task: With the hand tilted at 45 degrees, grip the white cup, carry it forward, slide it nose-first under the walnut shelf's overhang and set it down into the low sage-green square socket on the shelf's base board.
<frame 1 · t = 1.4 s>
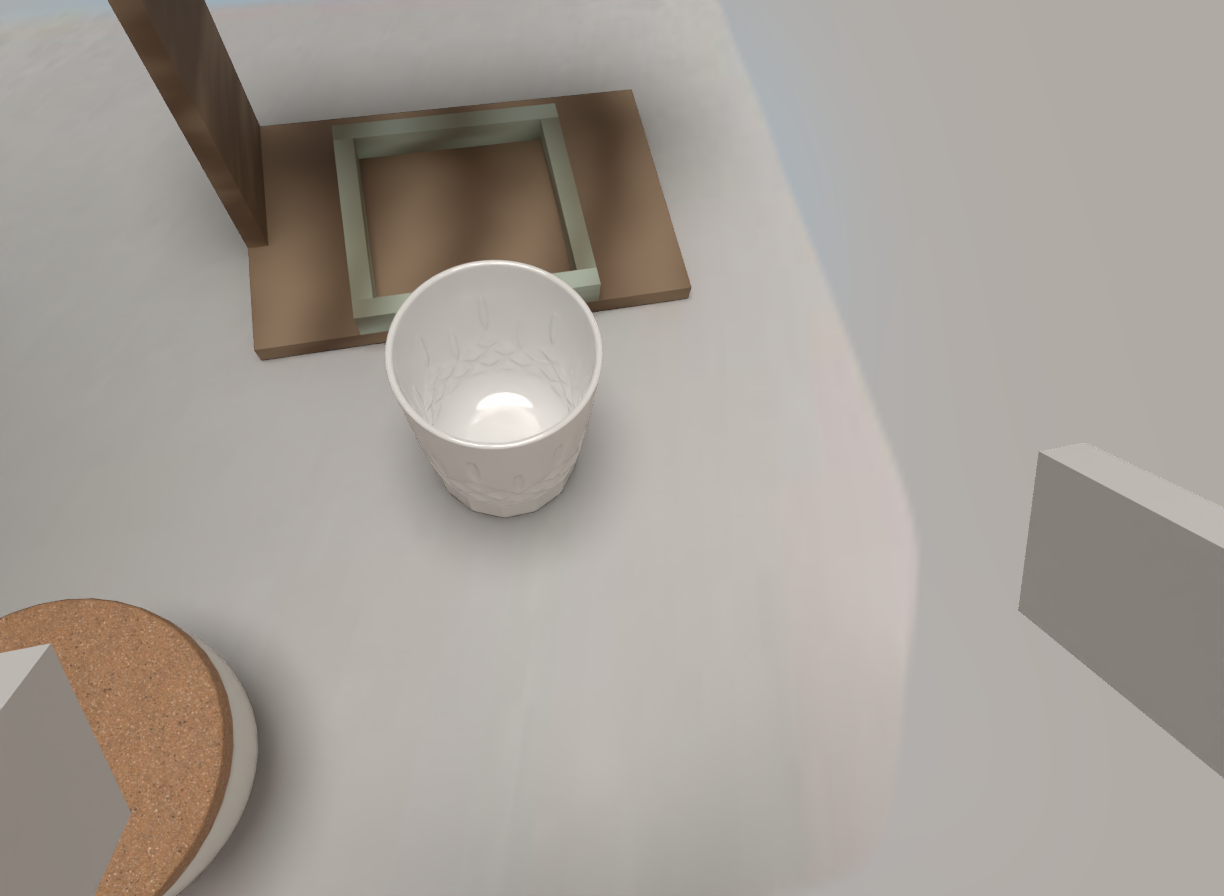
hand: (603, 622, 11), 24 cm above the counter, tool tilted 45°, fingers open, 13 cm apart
lidded jar: (158, 769, 31), on the counter
shelf unit: (463, 218, 42), on the counter
white cup: (506, 453, 38), on the counter
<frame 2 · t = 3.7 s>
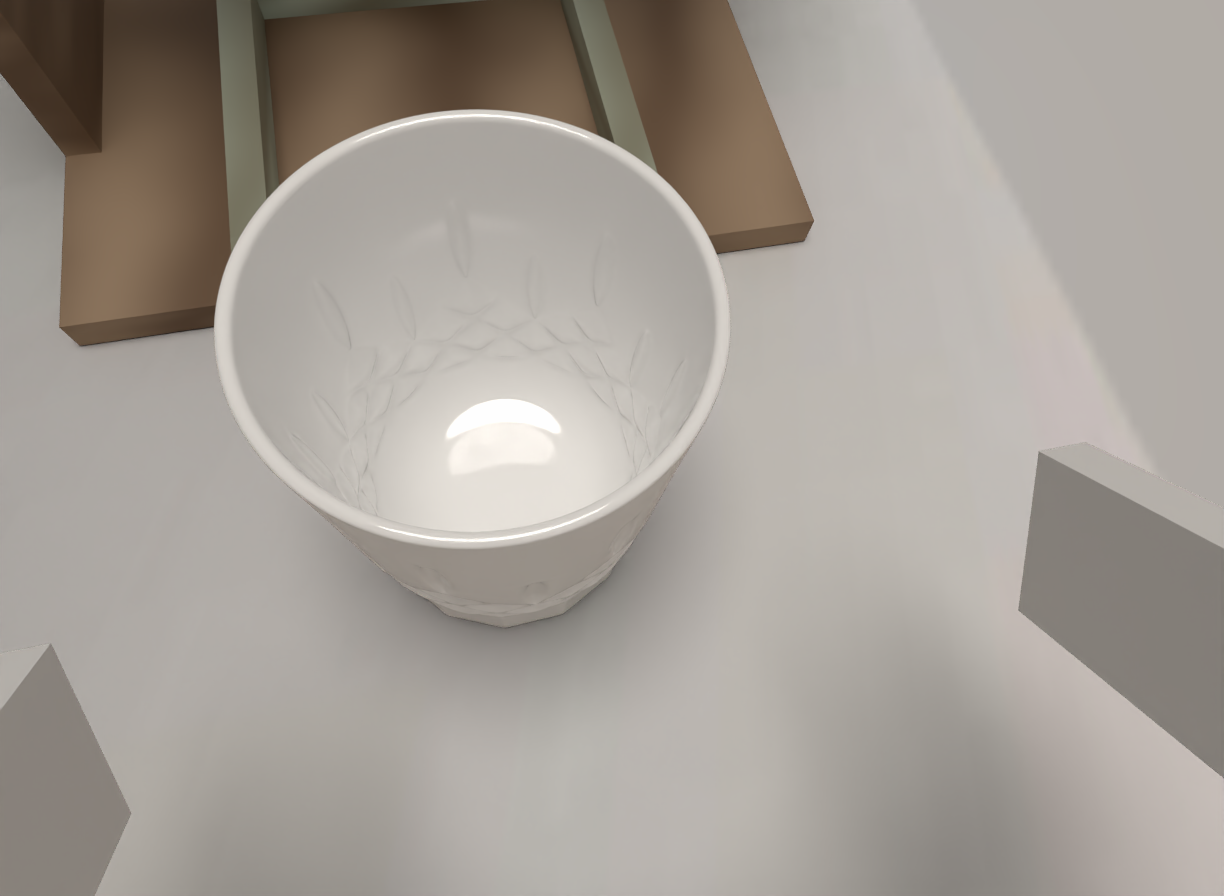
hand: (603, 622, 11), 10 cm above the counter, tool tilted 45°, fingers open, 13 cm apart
shelf unit: (435, 116, 26), on the counter
white cup: (509, 505, 21), on the counter
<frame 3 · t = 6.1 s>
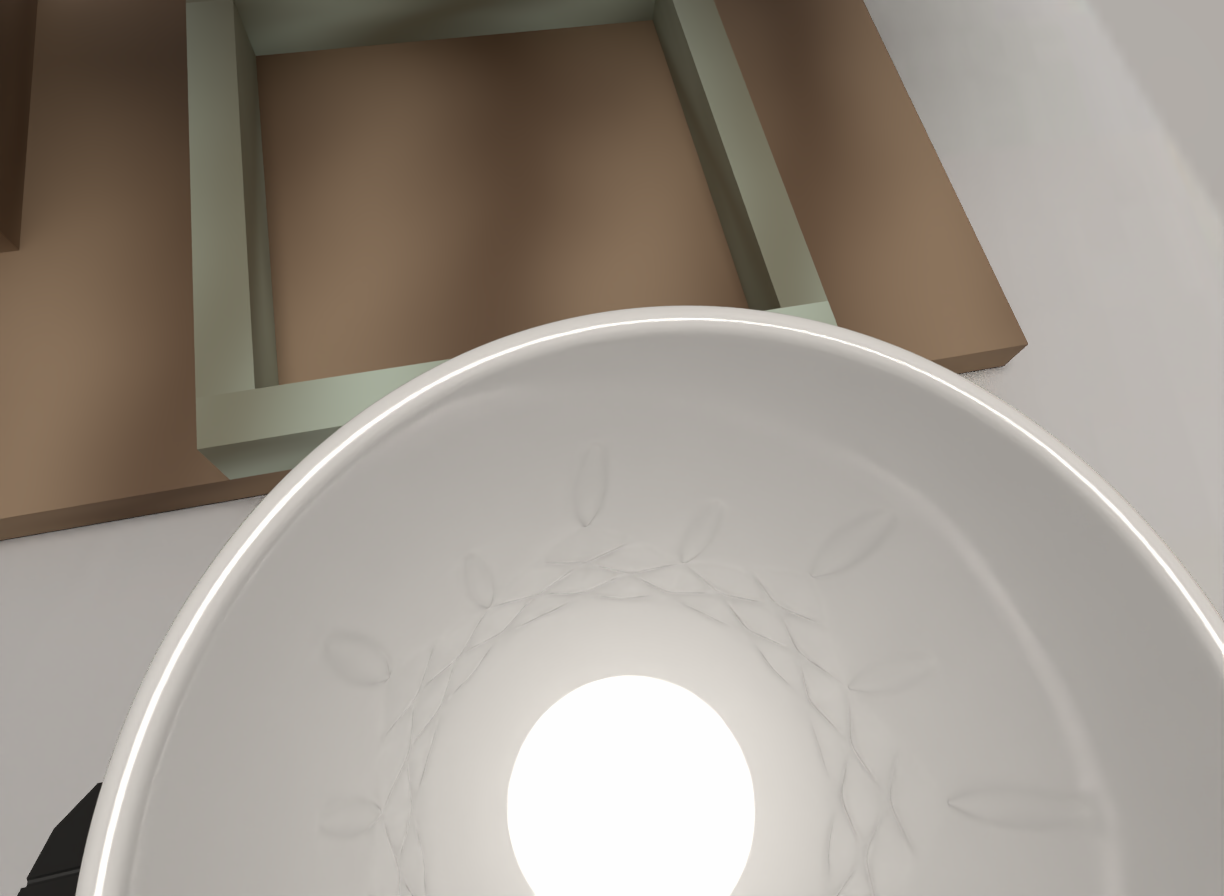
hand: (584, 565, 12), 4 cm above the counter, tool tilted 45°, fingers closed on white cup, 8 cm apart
shelf unit: (489, 188, 19), on the counter
white cup: (613, 796, 14), on the counter, touching gripper
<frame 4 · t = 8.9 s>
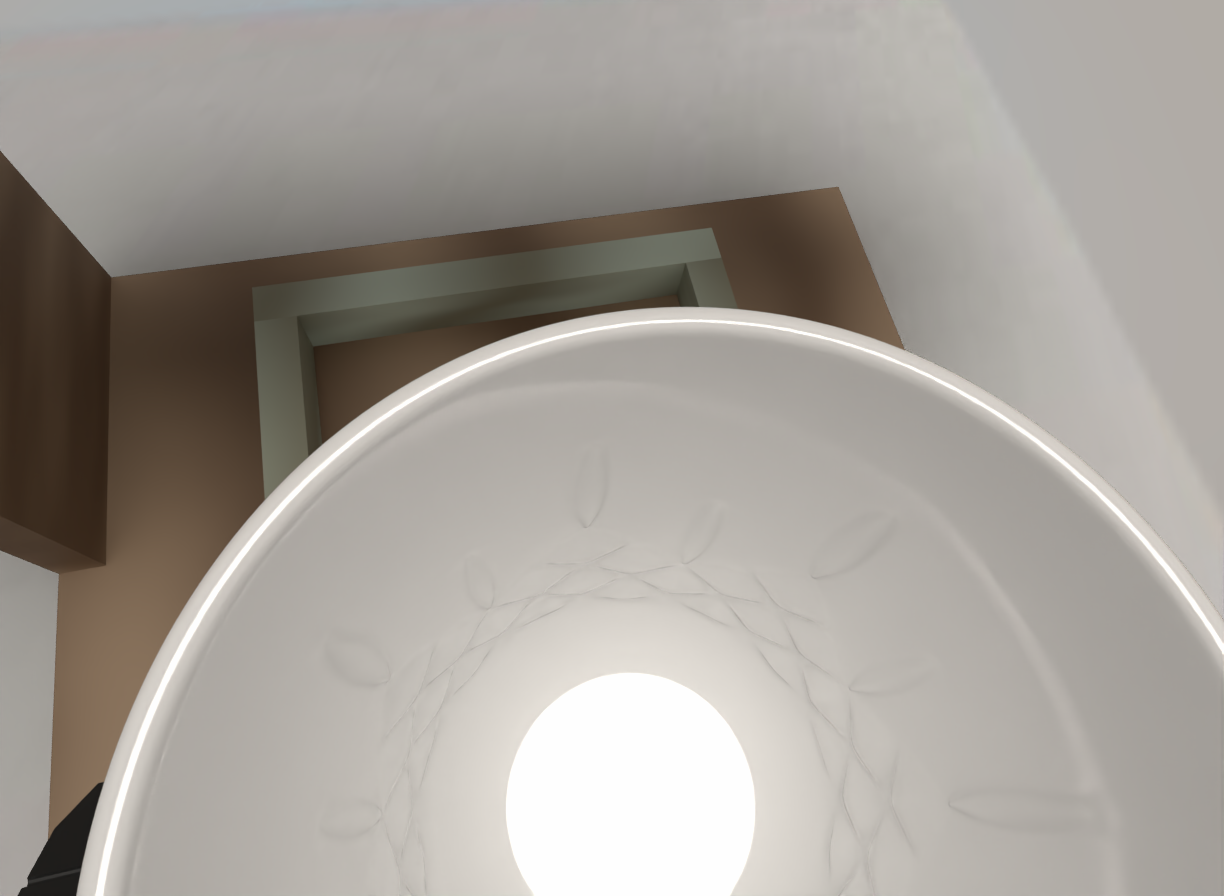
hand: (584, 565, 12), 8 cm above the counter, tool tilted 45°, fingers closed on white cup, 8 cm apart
shelf unit: (528, 466, 21), on the counter
white cup: (613, 797, 14), point 4 cm above the counter, touching gripper
when the fingers open (5 cm above the counter, at t = 11.6 s): white cup stays where it is, resting on shelf unit.
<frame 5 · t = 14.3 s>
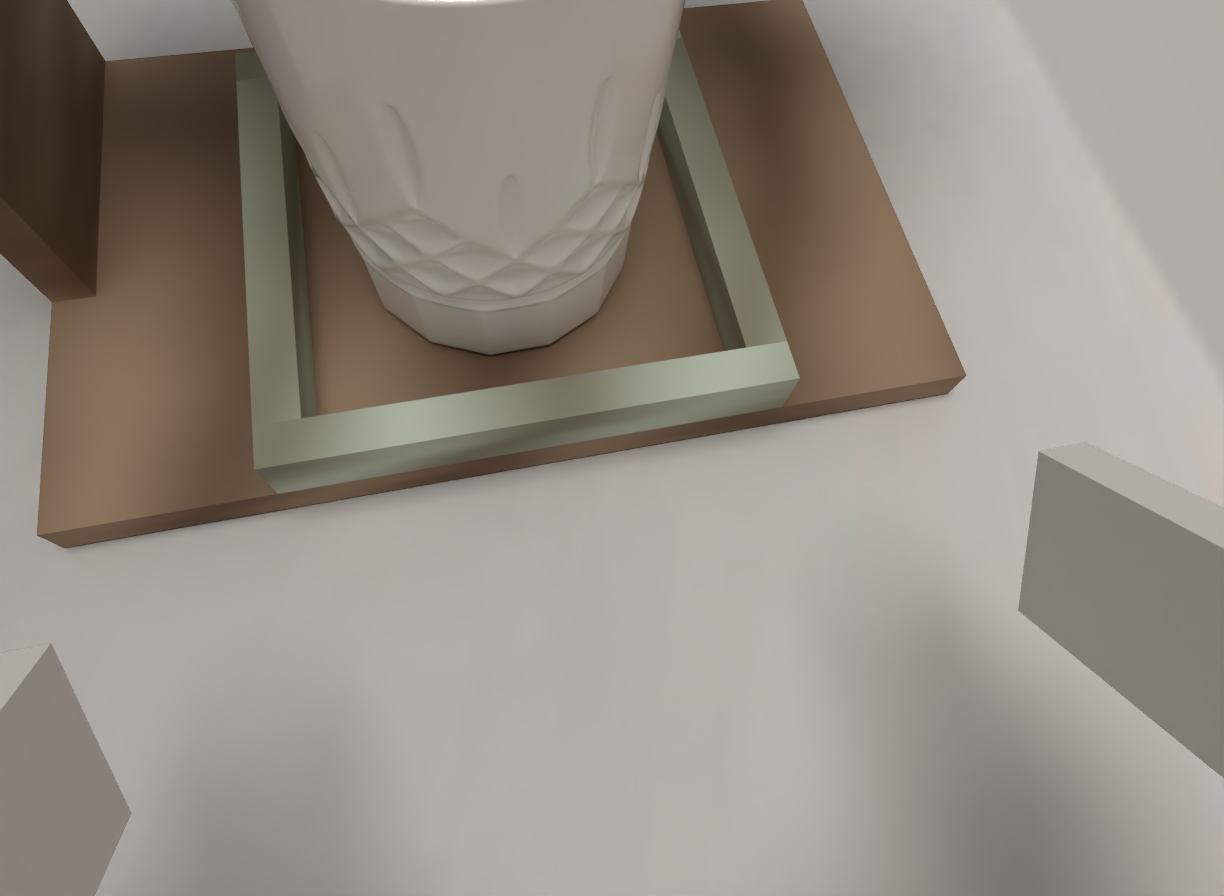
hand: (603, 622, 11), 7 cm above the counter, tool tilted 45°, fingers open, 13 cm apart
shelf unit: (498, 236, 22), on the counter
white cup: (496, 250, 21), point 1 cm above the counter, touching shelf unit
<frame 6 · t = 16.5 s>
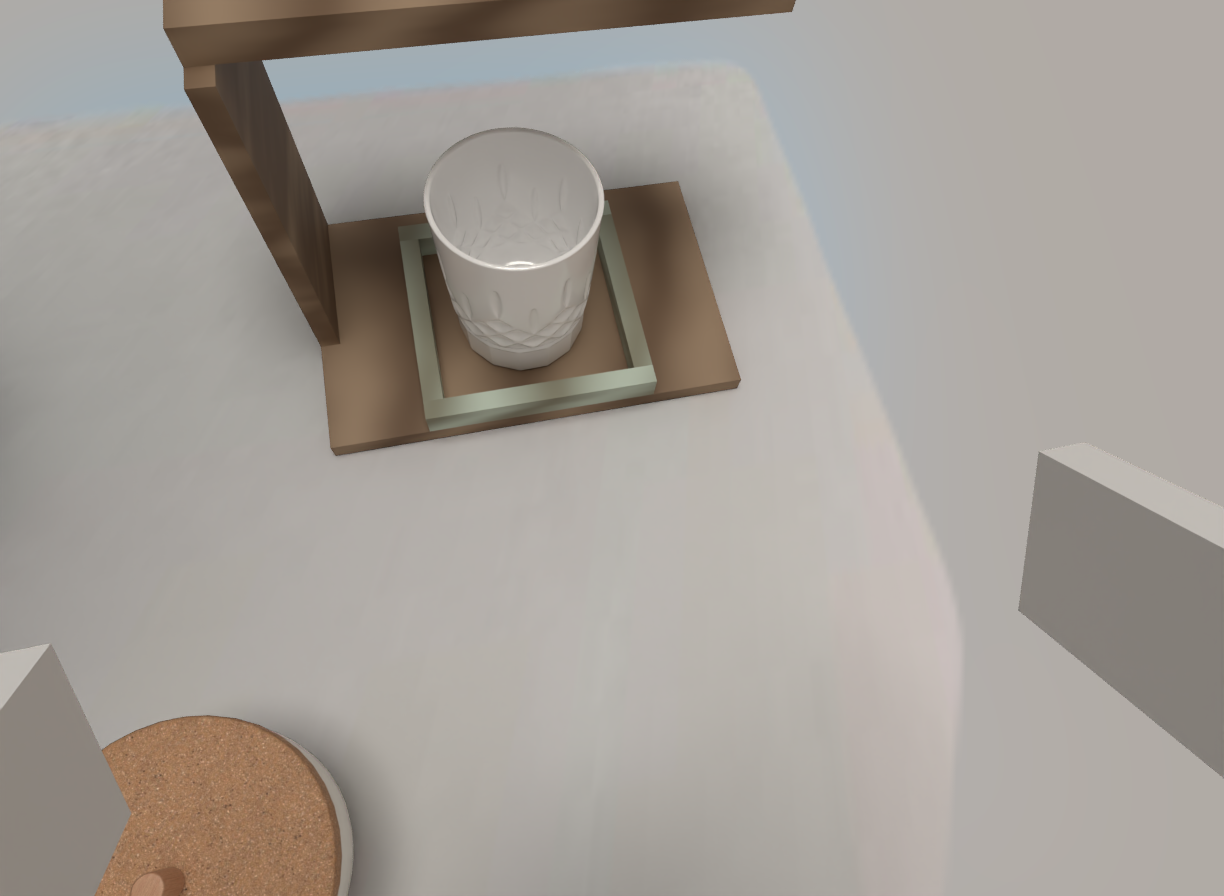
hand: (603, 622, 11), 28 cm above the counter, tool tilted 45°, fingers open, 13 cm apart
lidded jar: (254, 859, 33), on the counter
shelf unit: (521, 311, 44), on the counter
white cup: (521, 320, 43), point 1 cm above the counter, touching shelf unit
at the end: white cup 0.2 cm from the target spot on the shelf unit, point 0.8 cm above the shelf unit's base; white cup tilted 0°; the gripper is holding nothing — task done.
